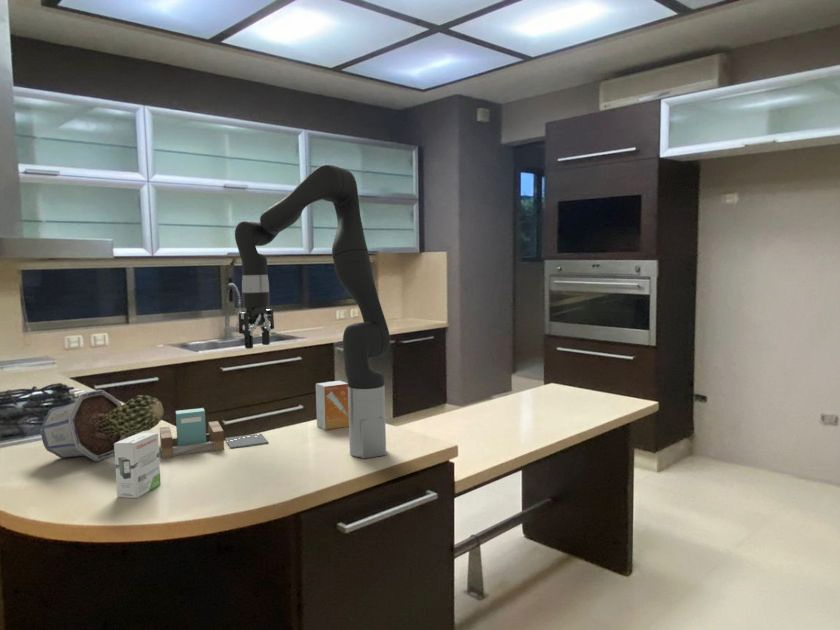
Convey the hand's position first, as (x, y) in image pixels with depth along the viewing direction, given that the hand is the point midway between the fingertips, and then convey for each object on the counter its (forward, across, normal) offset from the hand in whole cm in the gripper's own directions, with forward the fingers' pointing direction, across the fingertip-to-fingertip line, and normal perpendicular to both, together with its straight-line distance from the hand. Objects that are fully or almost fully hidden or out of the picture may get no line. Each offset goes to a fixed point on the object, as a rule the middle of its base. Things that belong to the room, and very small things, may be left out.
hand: (257, 346), depth 179 cm
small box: (+25, +10, -19) cm, 33 cm away
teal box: (+25, -20, +8) cm, 33 cm away
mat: (+25, -11, -3) cm, 27 cm away
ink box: (+25, -50, -3) cm, 56 cm away
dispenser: (+25, -20, +8) cm, 33 cm away
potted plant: (+25, -34, +23) cm, 48 cm away
